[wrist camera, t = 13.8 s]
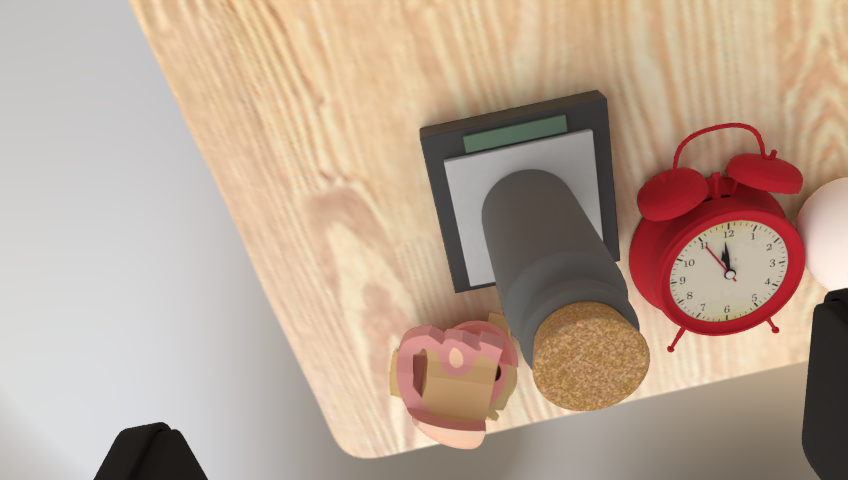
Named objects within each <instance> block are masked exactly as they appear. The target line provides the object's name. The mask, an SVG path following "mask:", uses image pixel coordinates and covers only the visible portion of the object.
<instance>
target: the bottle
mask: <svg viewBox="0 0 848 480" xmlns="http://www.w3.org/2000/svg"><path fill="white" fill-rule="evenodd" d="M481 215H482V226H483V231H484V236H485V241H486V245H487V249H488V253H489V257H490V261H491V265H492V269H493V273H494V277H495V281H496V285H497V289H498V293H499V297H500V301H501V305H502V309H503V313H504V317H505V319H506V322H507V325H508V327H509V329H510V330H511V332H512V334H513V335H514V336H515V338H516V339H517V340H518V341H519V343H520V347H521V351H522V354H523V357H524V359H525V361H526V362H527V364H528V365H529V367H530V368H531V369H532V370H533V378H534V381H535V384H536V386H537V388H538V390H539V391H540V392H541V394H542V395H543V396H544V397H545V398H546V399H547V400H549V401H550V402H552V403H553V404H555V405H557V406H559V407H562V408H564V409H569V410H574V411H593V410H599V409H603V408H606V407H610V406H612V405H614V404H616V403H619V402H620V401H622V400H623V399H625V398H626V397H628V396H629V395H630V394H632V393H633V392H634V391H635V390H636V389H637V388H638V387H639V385H640V384H641V382H642V381H643V379H644V378H645V376H646V374H647V371H648V367H649V362H650V353H649V348H648V346H647V343H646V340H645V339H644V337H643V336H642V335H641V333H640V332H639V329H640V328H639V322H638V318H637V315H636V313H635V311H634V309H633V307H632V306H631V304H630V303H629V301H628V290H627V286H626V282H625V280H624V277H623V275H622V273H621V271H620V269H619V268H618V266H617V264H616V263H615V261H614V259H613V258H612V256H611V254H610V253H609V251H608V249H607V248H606V246H605V244H604V243H603V241H602V239H601V238H600V236H599V235H598V233H597V231H596V230H595V228H594V226H593V225H592V223H591V222H590V220H589V218H588V217H587V215H586V213H585V212H584V210H583V209H582V207H581V205H580V204H579V202H578V200H577V199H576V197H575V196H574V194H573V193H572V191H571V190H570V188H569V187H568V186H567V185H566V184H565V183H564V182H563V181H562V180H561V179H560V178H559V177H557V176H555V175H554V174H552V173H549V172H546V171H543V170H536V169H529V170H521V171H518V172H514V173H512V174H510V175H508V176H506V177H504V178H502V179H501V180H500V181H498V182H497V183H496V184H495V185H494V186H493V187H492V189H491V190H490V191H489V193H488V194H487V196H486V198H485V200H484V203H483V207H482V211H481Z"/></svg>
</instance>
